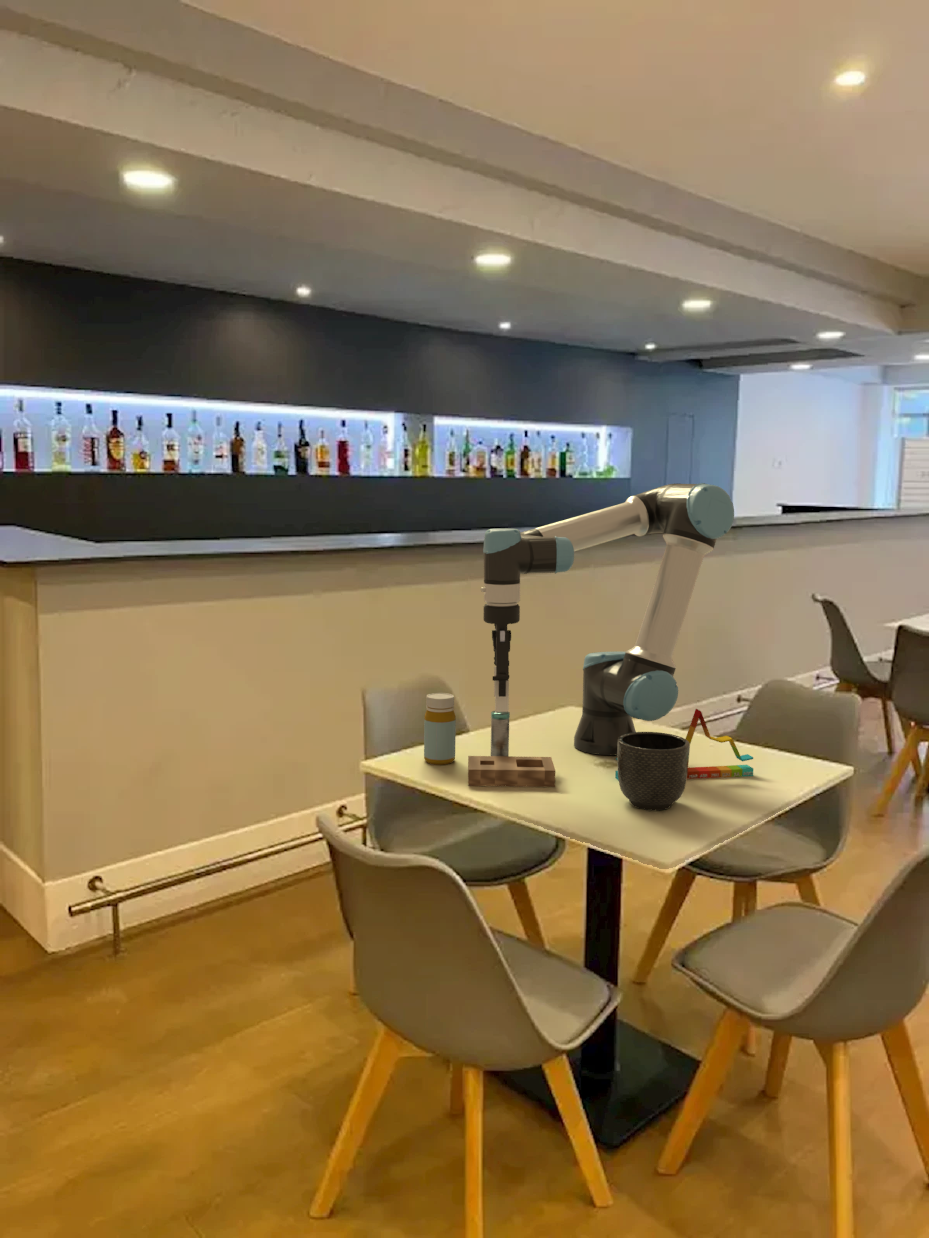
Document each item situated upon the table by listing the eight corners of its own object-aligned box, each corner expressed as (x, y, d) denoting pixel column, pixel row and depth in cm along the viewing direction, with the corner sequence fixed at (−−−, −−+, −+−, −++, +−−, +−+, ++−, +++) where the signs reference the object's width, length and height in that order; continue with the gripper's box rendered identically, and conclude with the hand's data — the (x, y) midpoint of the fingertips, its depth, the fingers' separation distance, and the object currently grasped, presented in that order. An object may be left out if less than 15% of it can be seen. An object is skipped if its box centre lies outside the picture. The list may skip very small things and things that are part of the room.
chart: (620, 783, 206) (622, 714, 204) (615, 779, 209) (617, 711, 207) (753, 777, 212) (757, 710, 210) (746, 773, 215) (750, 706, 213)
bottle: (456, 757, 223) (457, 693, 221) (453, 766, 216) (454, 699, 214) (426, 755, 224) (426, 691, 221) (422, 764, 217) (422, 698, 215)
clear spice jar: (508, 762, 219) (509, 710, 217) (509, 768, 215) (510, 715, 213) (489, 762, 219) (490, 710, 217) (490, 767, 215) (491, 714, 213)
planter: (700, 812, 188) (703, 747, 186) (634, 818, 184) (637, 752, 182) (665, 790, 201) (668, 729, 199) (603, 795, 197) (605, 733, 195)
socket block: (550, 772, 212) (551, 756, 212) (555, 786, 202) (555, 770, 202) (468, 771, 212) (468, 755, 212) (468, 785, 202) (468, 769, 202)
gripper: (483, 595, 214) (482, 690, 217) (484, 611, 190) (483, 718, 193) (517, 596, 214) (516, 690, 217) (522, 611, 190) (521, 718, 193)
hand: (501, 703), depth 205 cm, fingers open, 13 cm apart
